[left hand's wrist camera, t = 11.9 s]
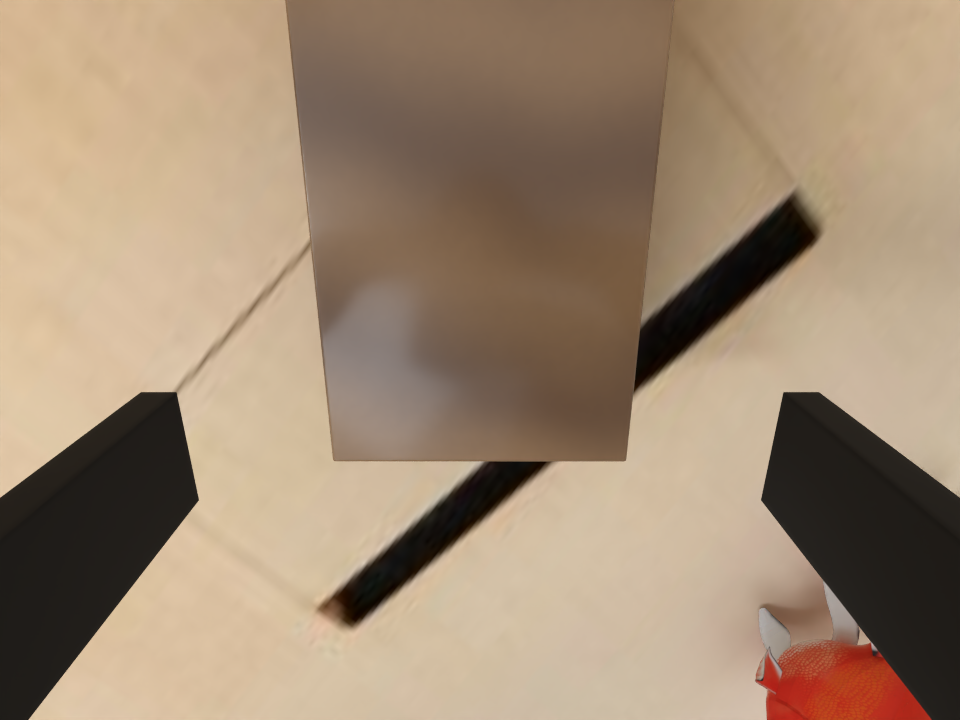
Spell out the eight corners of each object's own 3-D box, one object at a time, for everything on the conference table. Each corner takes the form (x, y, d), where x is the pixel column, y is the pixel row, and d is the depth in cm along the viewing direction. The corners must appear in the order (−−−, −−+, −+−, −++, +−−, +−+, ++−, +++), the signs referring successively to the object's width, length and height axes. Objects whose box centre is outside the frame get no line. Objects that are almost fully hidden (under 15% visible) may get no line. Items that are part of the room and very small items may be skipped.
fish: (657, 652, 27) (885, 861, 20) (843, 415, 30) (1107, 513, 22) (715, 714, 34) (905, 891, 26) (865, 513, 37) (1077, 617, 29)
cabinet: (336, -184, 20) (242, -395, 12) (623, -184, 20) (717, -395, 12) (375, 369, 27) (332, 462, 19) (584, 369, 27) (626, 462, 19)
